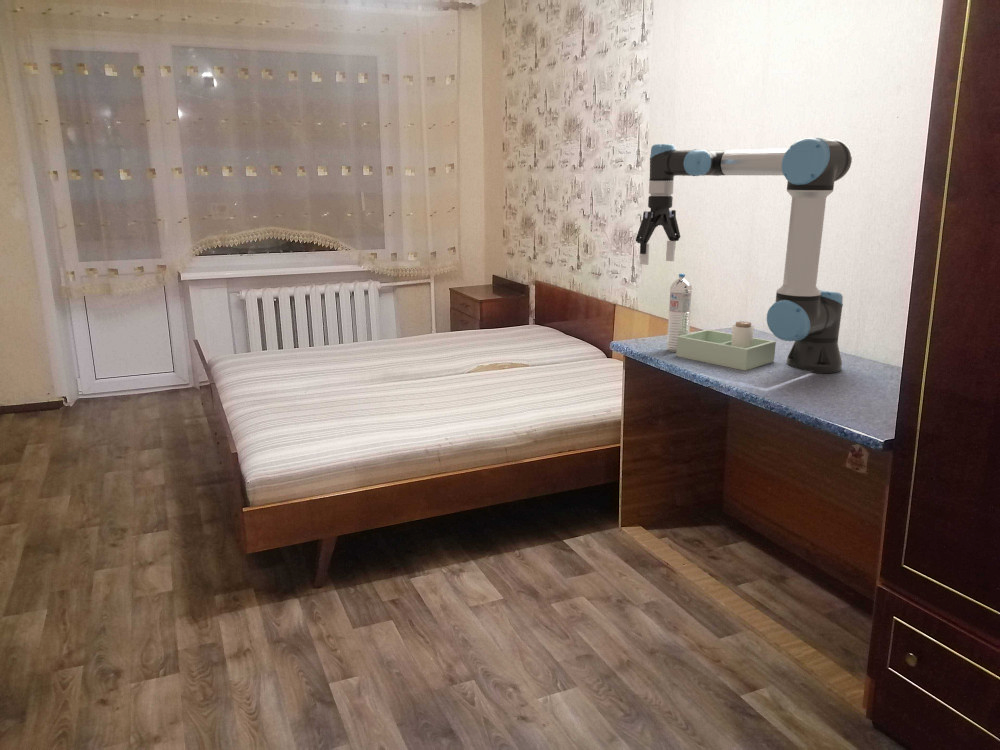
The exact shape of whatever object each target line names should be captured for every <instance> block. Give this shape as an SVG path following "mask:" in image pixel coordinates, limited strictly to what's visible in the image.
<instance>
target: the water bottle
mask: <svg viewBox="0 0 1000 750" xmlns="http://www.w3.org/2000/svg"><path fill="white" fill-rule="evenodd" d="M669 292H670V293H669V294H670V295H669V306H668V307H669V310H668V323H667V336H666V337H667V338H666V350H667V351H668V352H670V353H675V354H676V352H677V337H678V336H682V335H686V334H690V327H691V326H690V325H691V323H690V322H691V307H692V292H693V287H692V285H691V283H690V282H689V281H688V280H687V279H686V274H685V273H679V274H678V279H676V280H675V281H673V283H672V284H671V285H670V288H669Z"/></svg>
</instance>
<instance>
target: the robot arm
mask: <svg viewBox="0 0 1000 750" xmlns="http://www.w3.org/2000/svg"><path fill="white" fill-rule="evenodd" d="M852 159H853V156H852V152H851V150H850V148H849V147H848V145H847V144H846V143H844V142H843V141H841V140H839V139H835V138H821V137H807V138H803V139H799V140H797V141H795V142H793V143H792V144H791V145H790V146H789V147H788V148H765V149H764V148H760V149H759V148H758V149H730V150H729V149H727V150H725V149H724V150H705V149H695V148H694V149H685V150H676V145H675V144H672V143H663V144H662V143H657V144H653V145H652V146H651V147H650V156H649V180H648V181H649V183H648V184H649V186H648V194H649V195H648V198H647V201H648V202H647V207H648V208H649V209H650V211H648V210H647V211H645V210H644V211H643V215H642V220H641V223H640V225H639V229H638V231H637V234H636V237H635V242H637V244H640V246H639V254H640V257H639V264H640V265H644V266H648V265H649V261H650V260H649V257H650V243H649V241H650V239H651V237H652V235H653V233H654V231H655V230H656V228H657V227H658V226H662V228H663V230H664V232H665V234H666V237H667V239H668V240H666V250H665V251H666V254H665V261H666V262H674V261H675V253H676V242H678V241H680V239H681V233H680V228H679V224H678V221H677V217H676V213H677V211H676V209H670V208H673V201H674V200H673V199H674V198H673V196H672V195H673V194H674V178H675V176H683V177H685V176H686V177H690V176H691V177H700V176H704V177H705V176H715V177H716V176H717V177H719V176H784V178H785V179H786V181H787V185H786V192H787V193H788V194H789V195H790V196H791V203H790V205H791V206H790V214H789V215H790V216H789V224H788V225H789V226H788V233H787V244H786V254H785V263H784V270H783V271H784V273H783V281H782V282H783V283H782V285H781V286H780V287H779V288H777V289H776V294H775V301H774V303H772V305H771V306H770V307H769V309H767V313H766V324H767V327H768V329H769V330H770V332H771V333H772V334H773V335H774V337H776V338H778V339H780V340H782V341H784V342H793V345H792V346H791V349H790V350H789V353H788V354H787V355H788V356H787V358H786V365H788V366H790V367H792V368H794V369H799V370H803V371H811V372H810V373H813V374H832V373H833V374H834V373H839V372H840V371H842V365H843V360H842V356H841V353H840V347H839V336H840V335H839V334H840V327H841V319H842V311H843V307H844V304H843V300H844V299H843V298H844V297H843V295H842V294H841V292H838V291H837V292H836V291H831V290H830V291H829V290H821V289H818V288H817V287H818V286H817V282H818V273H819V263H820V255H821V248H822V237H823V230H824V229H823V228H824V220H825V213H826V203H827V198H828V197H829V196H830V195H831V194H832V193H833V192H834V187H835V182H838V181H839V180H840V179H842V178H844V177H845V176H846V174H847V173H848V172H849V170H850V168H851V165H852V163H853V161H852Z"/></svg>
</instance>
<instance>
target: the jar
mask: <svg viewBox="0 0 1000 750" xmlns="http://www.w3.org/2000/svg"><path fill="white" fill-rule="evenodd" d="M754 328H755V326H754V325H752V322H750V321H744V320H743V321H741V320H740V321H735V324H733V325H732V328H731V329H732V333H731V334H732V342H731V346H735V347H741V348H749V347H752V342H753V338H754V332H755V331H754V330H755V329H754Z"/></svg>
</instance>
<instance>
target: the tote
mask: <svg viewBox="0 0 1000 750" xmlns="http://www.w3.org/2000/svg"><path fill="white" fill-rule="evenodd" d="M731 342H732V333H730V332H723V331H720V330H719V331H718V330H711V329H703V330H700V331H695V332H689V334H686V335H682V336H678V337H677V352H676V353H675V354H676V357H679V358H684V359H687V360H692V361H693V360H694V361H698V362H702V363H703V362H704V363H707V364H712V365H716V366H722V367H725V368H726V367H727V368H730V369H736V370H740V371H741V370H742V371H745V372H746V371H749V370H751V369H755V368H758V367H760V366H764V365H767V364H770V363H774V362H775V354H776V346H777V345H776V344H777V343H776V341H775V340H769V339H765V338H764V339H763V338H757V337H753V342H752V347H749V348H741V347H735V346H731Z"/></svg>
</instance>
